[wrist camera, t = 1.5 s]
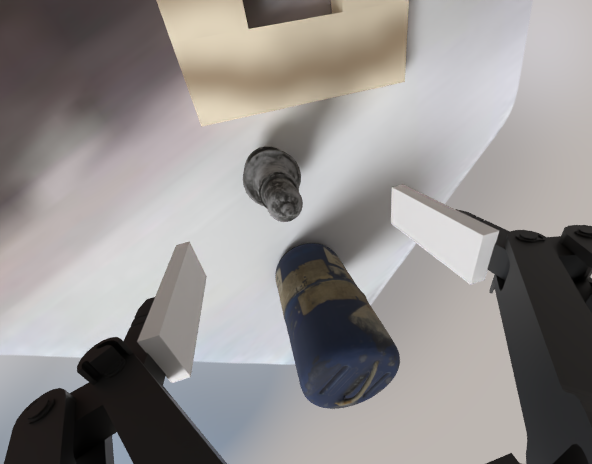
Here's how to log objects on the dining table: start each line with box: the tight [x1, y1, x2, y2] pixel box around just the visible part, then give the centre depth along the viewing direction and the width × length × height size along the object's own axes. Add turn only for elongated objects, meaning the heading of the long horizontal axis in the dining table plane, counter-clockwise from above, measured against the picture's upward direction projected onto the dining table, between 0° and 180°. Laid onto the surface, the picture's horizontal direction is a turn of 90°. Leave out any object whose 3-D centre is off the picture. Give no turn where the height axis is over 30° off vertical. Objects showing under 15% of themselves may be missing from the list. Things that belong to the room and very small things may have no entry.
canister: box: [276, 243, 400, 409], centre depth 27 cm, size 10×10×18 cm
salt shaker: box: [243, 147, 303, 222], centre depth 22 cm, size 6×6×12 cm
